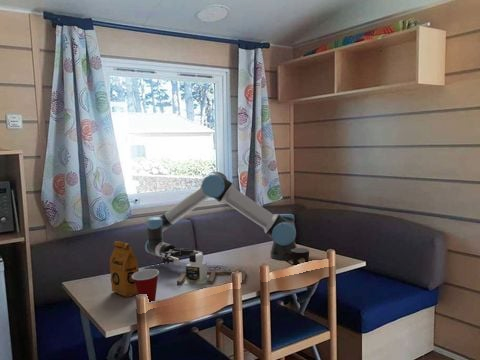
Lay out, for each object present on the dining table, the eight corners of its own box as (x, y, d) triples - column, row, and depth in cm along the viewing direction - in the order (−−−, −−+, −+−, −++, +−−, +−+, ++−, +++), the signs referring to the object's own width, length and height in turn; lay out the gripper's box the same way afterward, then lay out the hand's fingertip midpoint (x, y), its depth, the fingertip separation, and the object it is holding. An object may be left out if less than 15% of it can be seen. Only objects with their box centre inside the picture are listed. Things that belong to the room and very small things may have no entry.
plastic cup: (127, 303, 166) (125, 273, 165) (150, 295, 174) (148, 267, 173) (143, 309, 159) (141, 279, 157) (166, 301, 166) (164, 272, 165)
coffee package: (122, 299, 170) (119, 247, 168) (109, 292, 179) (105, 242, 177) (144, 293, 177) (141, 242, 175) (129, 286, 186) (126, 238, 184)
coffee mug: (311, 268, 201) (311, 248, 200) (307, 274, 193) (306, 253, 192) (288, 266, 206) (288, 246, 205) (283, 271, 198) (282, 251, 197)
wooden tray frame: (245, 273, 198) (245, 270, 198) (244, 283, 184) (244, 280, 184) (183, 274, 200) (183, 271, 200) (177, 284, 186) (176, 281, 185)
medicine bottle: (186, 280, 190) (184, 254, 189) (194, 275, 197) (192, 250, 196) (199, 282, 187) (198, 256, 186) (207, 277, 194) (206, 251, 193)
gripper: (186, 253, 218) (211, 260, 203) (144, 263, 202) (168, 272, 186) (186, 239, 218) (211, 245, 202) (143, 248, 201) (167, 256, 185)
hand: (190, 258), depth 194 cm, fingers open, 13 cm apart
